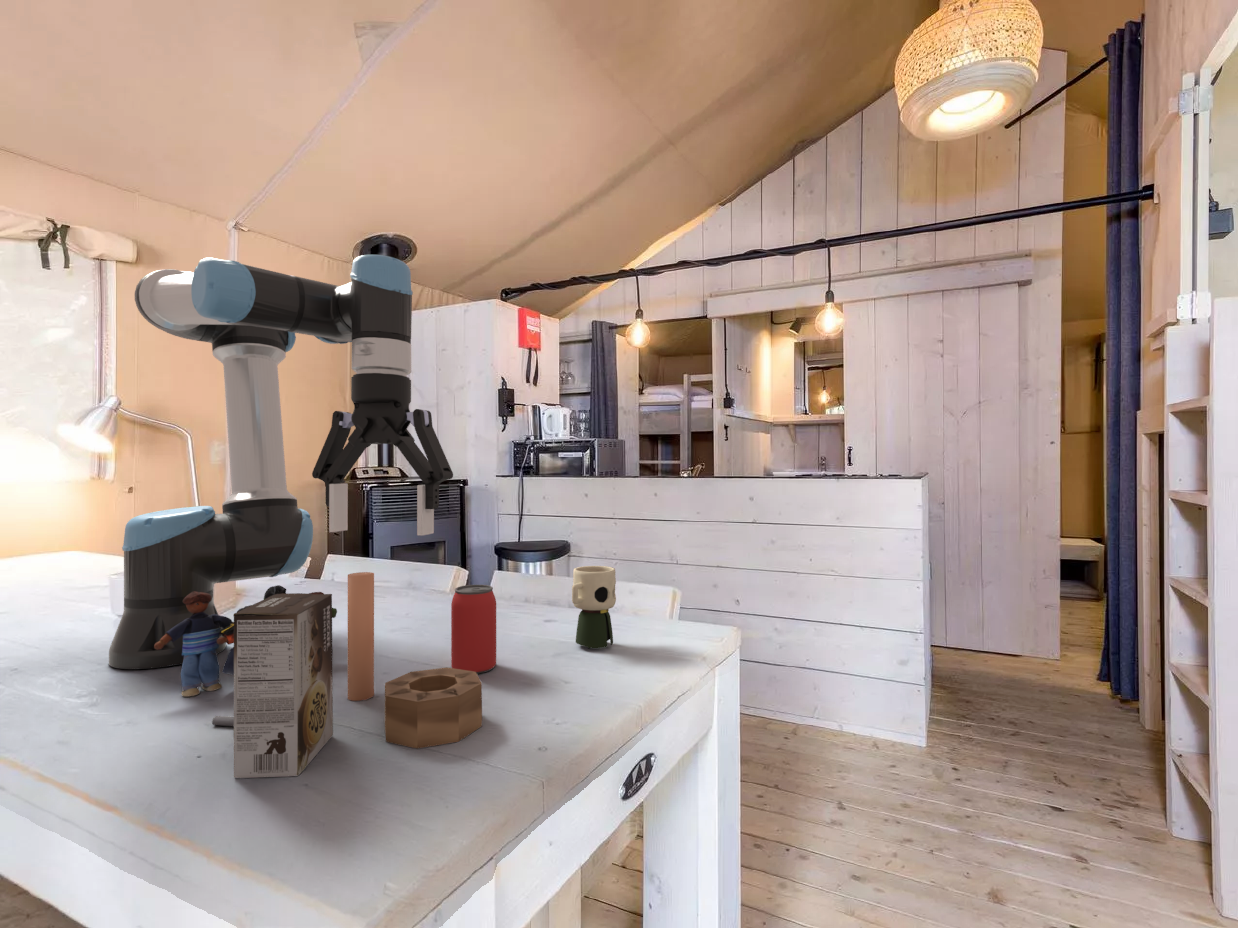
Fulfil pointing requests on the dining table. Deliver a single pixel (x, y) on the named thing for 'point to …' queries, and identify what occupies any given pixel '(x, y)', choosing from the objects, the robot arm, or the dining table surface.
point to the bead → (432, 707)
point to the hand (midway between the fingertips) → (381, 533)
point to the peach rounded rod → (360, 636)
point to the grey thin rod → (223, 721)
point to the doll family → (206, 642)
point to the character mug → (594, 604)
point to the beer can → (473, 628)
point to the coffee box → (282, 684)
